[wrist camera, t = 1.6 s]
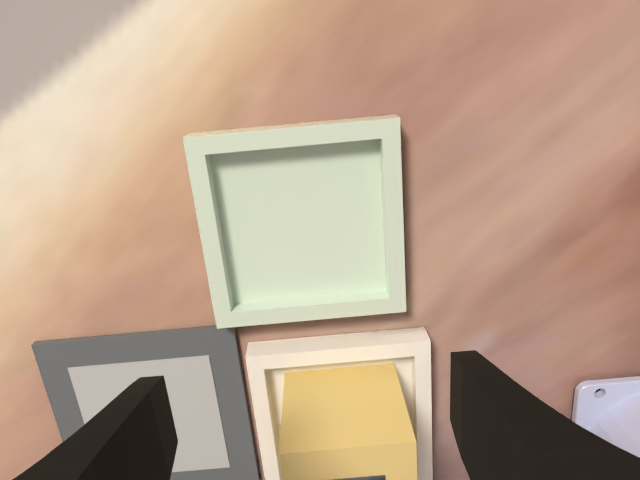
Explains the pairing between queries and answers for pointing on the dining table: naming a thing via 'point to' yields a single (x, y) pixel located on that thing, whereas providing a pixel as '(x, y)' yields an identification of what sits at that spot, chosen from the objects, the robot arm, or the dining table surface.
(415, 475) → the letter cube
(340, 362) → the dish white
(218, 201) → the dish green
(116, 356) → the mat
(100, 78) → the dining table surface
